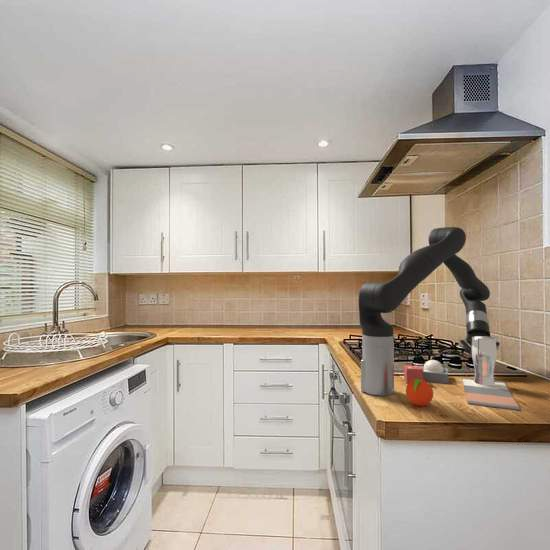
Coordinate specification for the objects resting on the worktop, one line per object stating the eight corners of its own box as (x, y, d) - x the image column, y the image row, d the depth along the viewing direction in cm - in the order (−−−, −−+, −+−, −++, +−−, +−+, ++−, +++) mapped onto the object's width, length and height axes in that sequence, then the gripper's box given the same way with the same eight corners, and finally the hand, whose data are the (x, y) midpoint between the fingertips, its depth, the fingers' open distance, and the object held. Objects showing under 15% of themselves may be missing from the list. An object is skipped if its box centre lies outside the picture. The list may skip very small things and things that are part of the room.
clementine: (428, 412, 90) (428, 384, 90) (401, 407, 94) (401, 380, 94) (436, 404, 96) (435, 378, 96) (410, 399, 100) (409, 374, 101)
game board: (467, 403, 96) (467, 402, 96) (462, 378, 122) (462, 377, 122) (520, 410, 91) (520, 409, 91) (503, 382, 116) (503, 381, 116)
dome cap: (423, 379, 120) (422, 361, 120) (423, 375, 126) (423, 357, 126) (443, 382, 118) (443, 362, 118) (443, 377, 123) (443, 359, 123)
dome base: (418, 380, 120) (418, 371, 120) (420, 374, 128) (420, 365, 128) (448, 383, 116) (448, 374, 116) (447, 376, 124) (447, 368, 124)
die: (406, 384, 115) (406, 368, 115) (404, 379, 120) (403, 364, 120) (423, 384, 114) (422, 369, 114) (419, 380, 119) (419, 365, 119)
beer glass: (471, 385, 113) (470, 338, 113) (472, 380, 118) (472, 335, 119) (496, 388, 109) (496, 339, 109) (497, 383, 115) (496, 337, 115)
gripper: (457, 318, 133) (459, 357, 122) (499, 319, 128) (505, 360, 116) (457, 330, 138) (459, 369, 126) (497, 332, 132) (502, 373, 121)
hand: (481, 365), depth 121 cm, fingers closed
